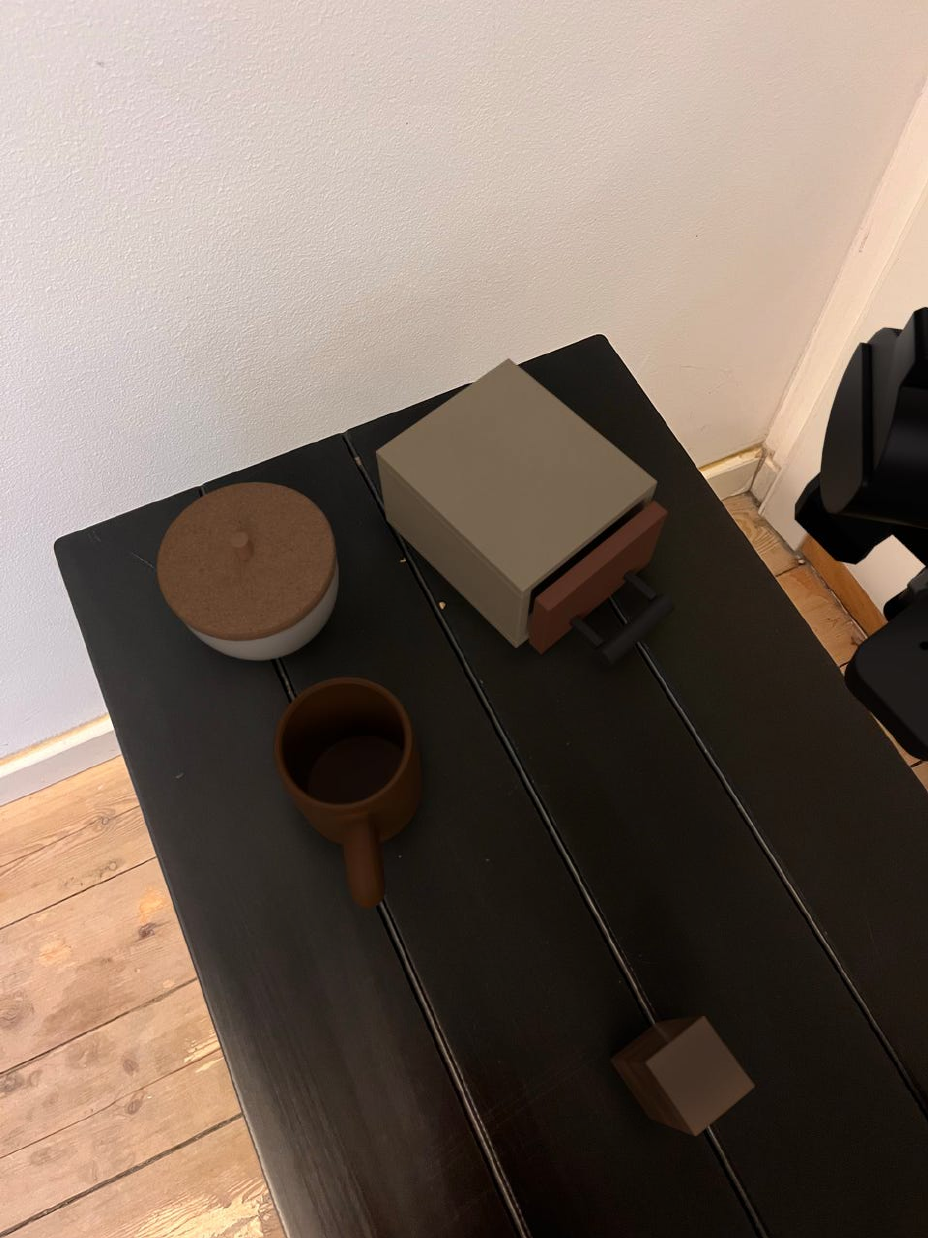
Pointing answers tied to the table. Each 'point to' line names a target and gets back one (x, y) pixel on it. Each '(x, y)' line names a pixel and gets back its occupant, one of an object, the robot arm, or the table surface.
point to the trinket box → (251, 570)
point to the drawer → (601, 587)
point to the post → (683, 1073)
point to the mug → (351, 772)
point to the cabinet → (505, 491)
